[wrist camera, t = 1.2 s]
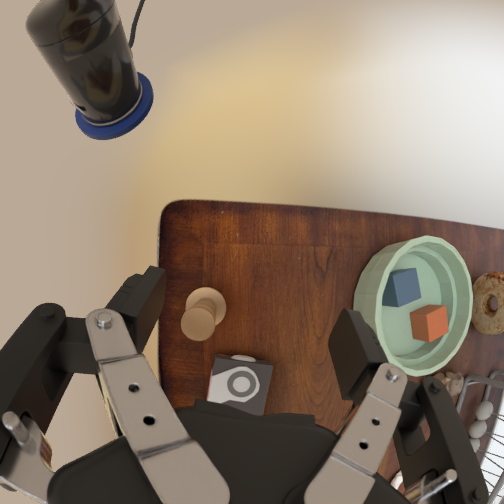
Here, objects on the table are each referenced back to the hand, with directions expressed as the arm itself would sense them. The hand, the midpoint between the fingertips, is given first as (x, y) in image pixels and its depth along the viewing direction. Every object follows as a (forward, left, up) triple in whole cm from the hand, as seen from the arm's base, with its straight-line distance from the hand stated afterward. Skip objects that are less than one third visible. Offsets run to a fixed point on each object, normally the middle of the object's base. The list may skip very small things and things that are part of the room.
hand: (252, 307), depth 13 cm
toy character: (+23, +28, -22) cm, 42 cm away
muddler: (+1, -3, -22) cm, 22 cm away
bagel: (+13, +39, -22) cm, 47 cm away
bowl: (+8, +23, -22) cm, 33 cm away
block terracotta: (+11, +25, -21) cm, 35 cm away
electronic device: (+15, -3, -19) cm, 24 cm away
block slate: (+5, +21, -21) cm, 30 cm away
